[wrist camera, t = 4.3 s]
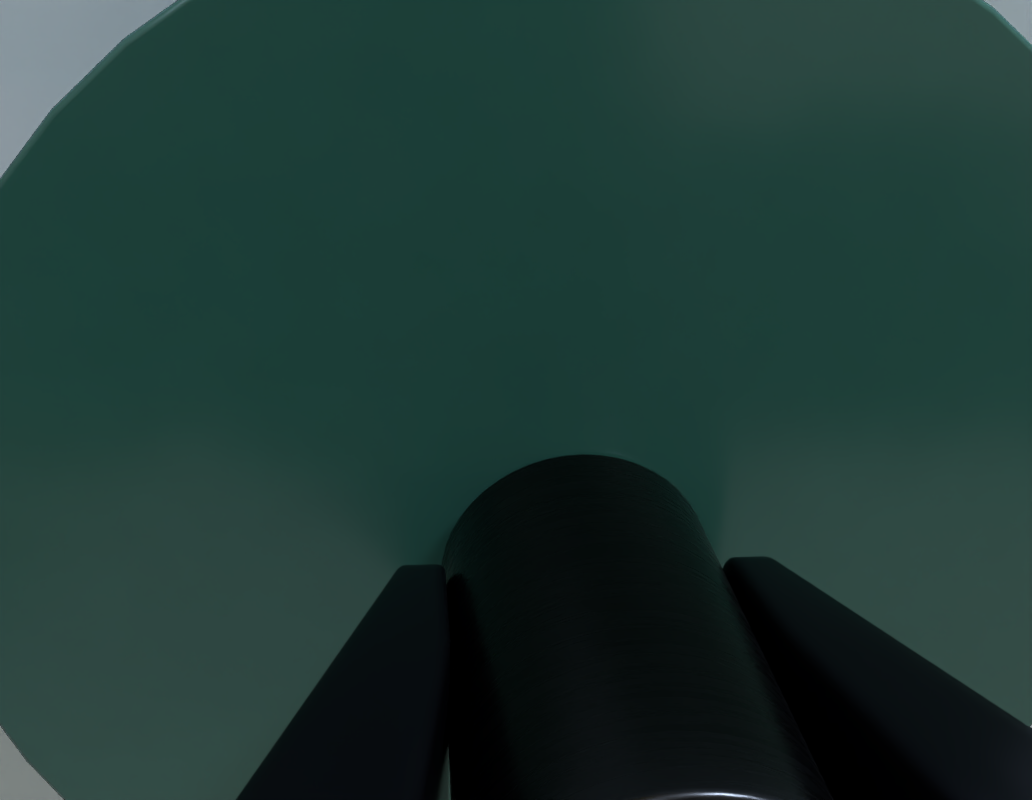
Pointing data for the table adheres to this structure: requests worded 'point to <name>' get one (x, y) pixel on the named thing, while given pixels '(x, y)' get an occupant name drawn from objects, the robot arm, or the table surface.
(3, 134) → the table surface
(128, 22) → the table surface
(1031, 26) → the table surface
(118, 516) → the lid
